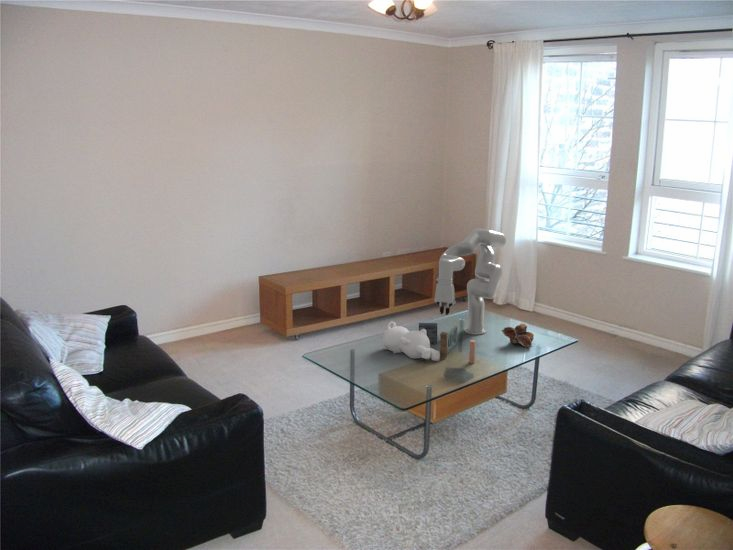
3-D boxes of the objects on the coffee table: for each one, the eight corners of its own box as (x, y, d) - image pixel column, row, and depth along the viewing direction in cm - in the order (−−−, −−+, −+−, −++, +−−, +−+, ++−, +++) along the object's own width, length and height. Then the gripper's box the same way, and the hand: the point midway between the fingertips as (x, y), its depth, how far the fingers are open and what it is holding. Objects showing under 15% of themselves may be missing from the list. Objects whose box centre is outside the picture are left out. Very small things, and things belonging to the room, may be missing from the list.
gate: (446, 355, 352) (447, 335, 349) (442, 354, 353) (443, 335, 350) (457, 344, 368) (457, 325, 365) (453, 343, 368) (454, 324, 366)
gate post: (441, 356, 353) (442, 331, 349) (446, 357, 352) (447, 332, 348) (439, 358, 350) (440, 333, 347) (445, 359, 349) (445, 334, 345)
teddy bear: (417, 368, 335) (369, 344, 359) (437, 371, 349) (389, 348, 372) (431, 333, 335) (382, 311, 358) (450, 338, 348) (401, 317, 371)
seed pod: (495, 328, 374) (510, 328, 359) (520, 317, 380) (537, 317, 364) (503, 352, 375) (518, 353, 359) (528, 341, 380) (545, 342, 365)
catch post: (470, 361, 346) (471, 339, 343) (474, 362, 345) (475, 340, 342) (469, 363, 344) (469, 341, 341) (473, 363, 343) (474, 342, 340)
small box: (437, 340, 377) (437, 322, 374) (437, 344, 371) (437, 326, 368) (418, 339, 378) (418, 322, 375) (418, 343, 372) (418, 326, 369)
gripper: (429, 281, 357) (428, 313, 362) (457, 284, 351) (456, 317, 356) (434, 278, 364) (433, 310, 369) (462, 281, 357) (460, 313, 362)
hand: (444, 313), depth 362 cm, fingers closed
